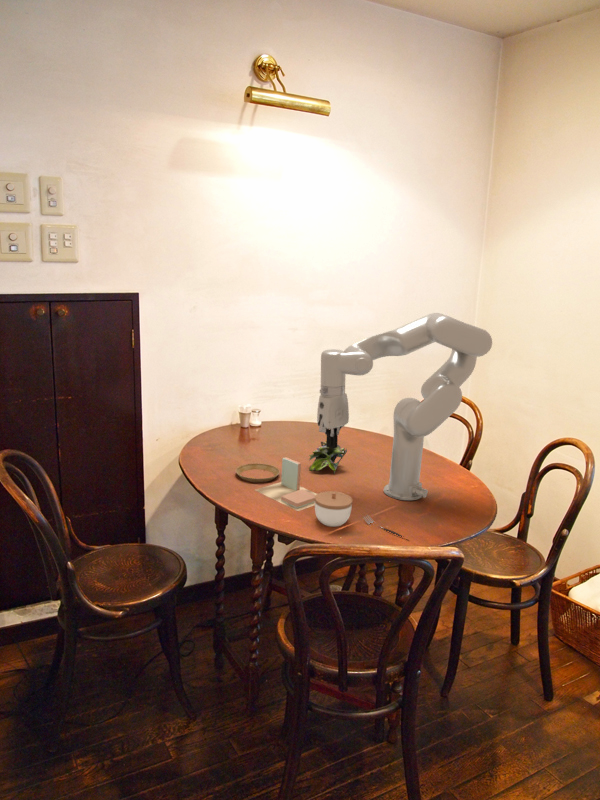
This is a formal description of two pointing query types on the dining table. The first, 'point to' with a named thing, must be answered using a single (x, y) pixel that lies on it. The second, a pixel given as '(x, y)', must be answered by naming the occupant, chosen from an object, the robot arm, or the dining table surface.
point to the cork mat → (279, 490)
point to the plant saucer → (257, 466)
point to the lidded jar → (333, 508)
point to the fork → (381, 527)
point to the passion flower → (326, 457)
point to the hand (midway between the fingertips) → (331, 447)
